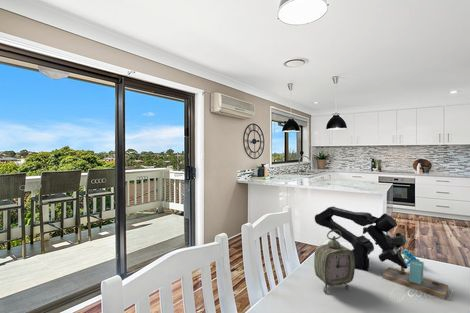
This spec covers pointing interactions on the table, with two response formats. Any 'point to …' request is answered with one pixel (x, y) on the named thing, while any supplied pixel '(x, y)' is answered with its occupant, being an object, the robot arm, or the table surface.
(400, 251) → the robot arm
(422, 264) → the block
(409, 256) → the blue irregular piece
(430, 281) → the board
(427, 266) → the table surface
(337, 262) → the tabletop clock
